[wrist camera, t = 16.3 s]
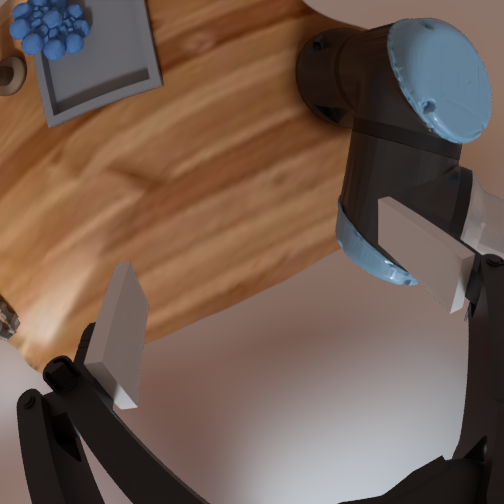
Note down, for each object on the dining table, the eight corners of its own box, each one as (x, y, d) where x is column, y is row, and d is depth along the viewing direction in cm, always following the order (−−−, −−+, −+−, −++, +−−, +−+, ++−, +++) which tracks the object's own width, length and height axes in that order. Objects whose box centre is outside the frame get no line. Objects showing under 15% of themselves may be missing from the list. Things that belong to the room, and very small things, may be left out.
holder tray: (139, -34, 25) (136, -42, 22) (163, 86, 34) (161, 84, 32) (36, 9, 24) (28, 5, 21) (57, 125, 33) (48, 127, 31)
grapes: (85, 26, 30) (16, 11, 21) (106, -4, 25) (31, -23, 16) (68, 84, 29) (-13, 71, 20) (89, 52, 25) (-4, 35, 15)
